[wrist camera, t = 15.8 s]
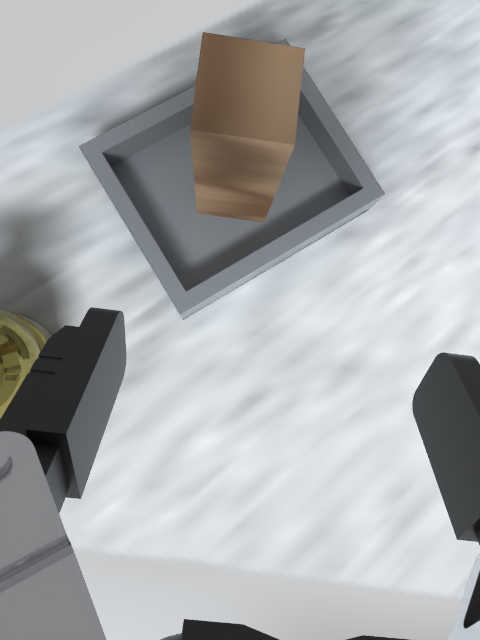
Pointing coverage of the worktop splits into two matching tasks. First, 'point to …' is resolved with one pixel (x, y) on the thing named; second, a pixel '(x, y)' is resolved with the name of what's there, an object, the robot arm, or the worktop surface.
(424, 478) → the worktop surface
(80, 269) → the worktop surface
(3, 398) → the olive green lumpy figure
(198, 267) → the parts tray
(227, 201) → the block
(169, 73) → the worktop surface
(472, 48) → the worktop surface
